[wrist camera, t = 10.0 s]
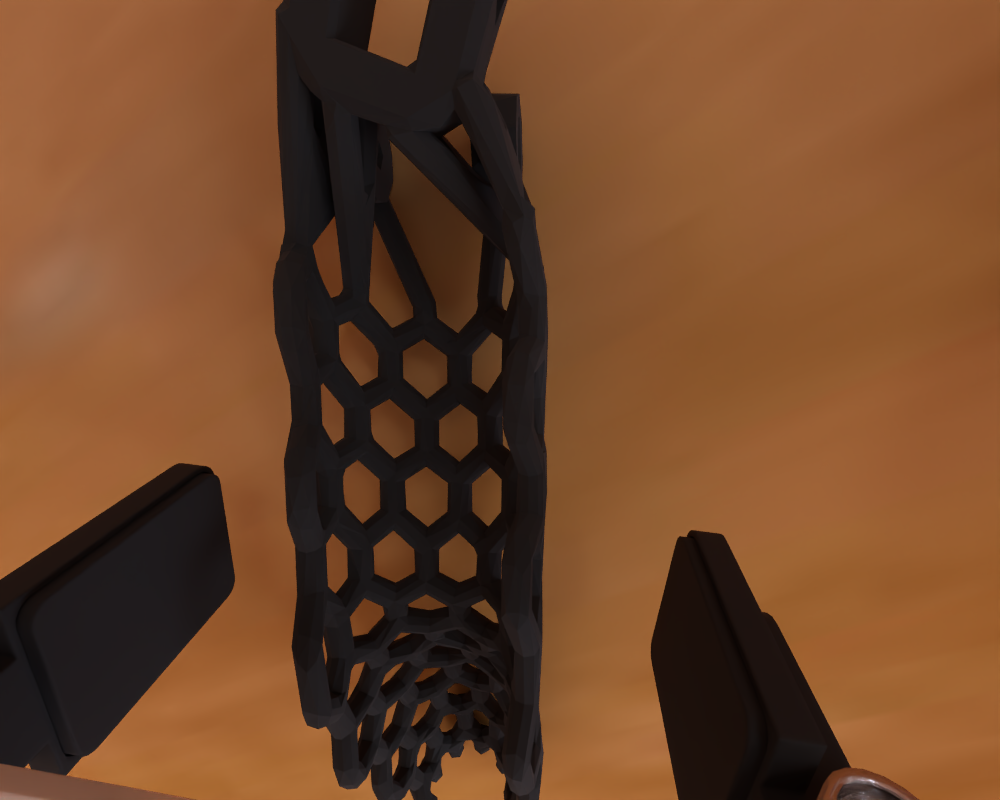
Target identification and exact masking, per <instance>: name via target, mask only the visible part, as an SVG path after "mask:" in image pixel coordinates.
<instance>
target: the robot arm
mask: <svg viewBox="0 0 1000 800" xmlns="http://www.w3.org/2000/svg"><path fill="white" fill-rule="evenodd" d="M234 582H235V574H234V568H233V562H232V555H231V549H230V542H229V536H228V529H227V523H226V516H225V510H224V503H223V497H222V491H221V484H220V480H219V478H218V476H216V475H214V473H213V471H212V470H211V468H209V467H207V466H200V465H192V464H184V463H178V464H176V465H174V466H172V467H171V468H169V469H168V470H166V471H165V472H163V473H162V474H160V475H159V476H157V477H156V478H154V479H153V480H151V481H150V482H148V483H147V484H145V485H143V486H142V487H140V488H139V489H137V490H136V491H134V492H133V493H131V494H130V495H128V496H127V497H125V498H124V499H122V500H121V501H119V502H118V503H116V504H115V505H113V506H112V507H110V508H109V509H107V510H106V511H104V512H103V513H101V514H99V515H98V516H96V517H95V518H93V519H92V520H90V521H89V522H87V523H86V524H84V525H83V526H81V527H80V528H78V529H77V530H75V531H74V532H72V533H71V534H69V535H68V536H66V537H65V538H63V539H62V540H60V541H59V542H57V543H55V544H54V545H52V546H51V547H49V548H48V549H46V550H45V551H43V552H42V553H40V554H39V555H37V556H36V557H34V558H33V559H31V560H30V561H28V562H27V563H25V564H24V565H22V566H21V567H19V568H18V569H16V570H15V571H13V572H11V573H10V574H8V575H7V576H5V577H4V578H2V579H1V580H0V800H195V799H189V798H184V797H179V796H174V795H168V794H163V793H158V792H152V791H147V790H142V789H136V788H131V787H125V786H120V785H114V784H109V783H104V782H98V781H93V780H87V779H82V778H77V777H71V776H66V775H67V774H68V773H69V771H70V770H71V769H72V768H73V767H74V766H75V765H76V763H77V762H78V761H79V760H80V759H81V758H82V757H84V756H87V755H89V754H90V753H92V752H93V751H95V750H96V749H97V748H98V747H99V746H100V744H101V743H102V742H103V741H104V740H105V739H106V737H107V736H108V735H109V734H110V733H111V732H112V730H113V729H114V728H115V727H116V726H117V725H118V724H119V722H120V721H121V720H122V719H123V718H124V717H125V715H126V714H127V713H128V712H129V711H130V710H131V708H132V707H133V706H134V705H135V704H136V703H137V702H138V700H139V699H140V698H141V697H142V696H143V695H144V693H145V692H146V691H147V690H148V689H149V688H150V686H151V685H152V684H153V683H154V682H155V681H156V680H157V678H158V677H159V676H160V675H161V674H162V673H163V671H164V670H165V669H166V668H167V667H168V666H169V665H170V663H171V662H172V661H173V660H174V659H175V658H176V656H177V655H178V654H179V653H180V652H181V651H182V649H183V648H184V647H185V646H186V645H187V644H188V643H189V641H190V640H191V639H192V638H193V637H194V636H195V634H196V633H197V632H198V631H199V630H200V629H201V627H202V626H203V625H204V624H205V623H206V622H207V621H208V619H209V618H210V617H211V616H212V615H213V614H214V612H215V611H216V610H217V609H218V608H219V607H220V605H221V604H222V603H223V602H224V601H225V600H226V599H227V597H228V596H229V595H230V593H231V591H232V589H233V586H234ZM651 660H652V666H653V671H654V676H655V681H656V686H657V692H658V697H659V702H660V707H661V712H662V717H663V722H664V727H665V733H666V738H667V743H668V748H669V753H670V758H671V763H672V768H673V774H674V779H675V784H676V789H677V794H678V799H679V800H919V799H917V798H916V797H915V796H914V795H912V794H911V793H910V792H909V791H907V790H906V789H905V788H903V787H901V786H900V785H898V784H896V783H894V782H893V781H891V780H889V779H887V778H886V777H884V776H881V775H879V774H876V773H873V772H870V771H867V770H865V769H857V768H851V767H850V765H849V763H848V761H847V759H846V757H845V755H844V753H843V751H842V749H841V747H840V745H839V743H838V741H837V739H836V737H835V736H834V734H833V732H832V730H831V728H830V726H829V724H828V722H827V720H826V718H825V716H824V714H823V712H822V710H821V708H820V706H819V704H818V703H817V701H816V699H815V697H814V695H813V693H812V691H811V689H810V687H809V685H808V683H807V681H806V679H805V677H804V675H803V673H802V671H801V670H800V668H799V666H798V664H797V662H796V660H795V658H794V656H793V654H792V652H791V650H790V648H789V646H788V644H787V642H786V640H785V638H784V637H783V635H782V633H781V631H780V629H779V627H778V625H777V623H776V622H775V620H774V619H773V617H772V616H771V615H769V614H768V613H765V612H761V610H760V608H759V606H758V604H757V602H756V600H755V598H754V596H753V594H752V592H751V590H750V588H749V586H748V584H747V582H746V580H745V577H744V575H743V573H742V571H741V569H740V567H739V565H738V563H737V561H736V559H735V557H734V555H733V553H732V551H731V549H730V547H729V545H728V543H727V541H726V539H725V537H724V536H723V535H722V534H717V533H710V532H702V531H694V530H691V531H689V533H688V535H687V537H681V536H680V537H679V538H678V539H677V542H676V545H675V549H674V553H673V557H672V561H671V565H670V569H669V573H668V577H667V581H666V585H665V589H664V593H663V597H662V601H661V605H660V609H659V613H658V617H657V621H656V625H655V629H654V633H653V637H652V642H651ZM28 763H29V765H30V767H31V769H28V768H24V767H25V766H26V765H27V764H28Z"/></svg>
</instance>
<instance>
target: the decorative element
mask: <svg viewBox="0 0 1000 800" xmlns="http://www.w3.org/2000/svg"><path fill="white" fill-rule="evenodd" d="M506 3H507V0H430V1H429V5H428V10H427V14H426V19H425V24H424V28H423V33H422V38H421V42H420V47H419V51H418V56H417V60H416V61H414V62H413V63H412V64H410V65H409V66H408V67H406V66H403V65H401V64H398V63H396V62H393V61H391V60H388V59H386V58H383V57H381V56H378V55H376V54H373V53H371V52H368V45H369V39H370V33H371V27H372V22H373V16H374V10H375V4H376V0H283V2H282V3H281V4H280V6H279V7H278V8H277V9H276V55H277V109H278V134H279V149H280V163H281V177H282V191H283V205H284V219H285V234H284V239H283V245H282V244H281V251H280V257H279V260H278V261H277V263H276V268H275V274H274V279H273V299H274V318H275V334H276V337H277V341H278V344H279V348H280V351H281V355H282V358H283V362H284V365H285V369H286V372H287V376H288V379H289V383H290V394H291V412H292V423H291V428H290V433H289V438H288V443H287V448H286V453H285V458H284V470H285V491H286V512H287V523H288V526H289V529H290V532H291V535H292V538H293V541H294V544H295V553H296V576H297V602H296V611H295V621H294V630H293V639H292V652H293V658H294V664H295V670H296V676H297V682H298V689H299V695H300V701H301V707H302V713H303V716H304V719H305V721H306V724H307V726H310V727H313V728H316V729H320V728H323V727H327V728H328V730H329V732H330V733H331V741H332V758H333V769H334V772H335V775H336V778H337V780H338V783H339V786H340V787H343V788H346V789H356V788H358V787H359V786H360V784H361V783H362V782H363V781H364V780H365V779H366V778H367V776H368V773H369V771H370V769H371V781H372V788H373V791H374V793H375V795H376V797H377V799H378V800H401V799H403V798H404V797H405V795H406V793H407V791H408V790H409V789H410V792H411V794H412V796H413V799H414V800H437V797H436V796H435V795H433V794H432V793H431V791H430V787H431V781H433V782H437V781H438V780H439V779H440V778H441V777H442V775H443V774H442V768H441V758H442V756H443V755H444V754H445V753H446V752H449V754H450V755H451V757H452V758H454V757H460V756H461V754H462V751H463V749H464V746H463V744H464V742H465V741H466V740H472V741H473V742H474V747H475V750H476V751H478V752H479V753H480V754H483V753H485V752H487V751H488V750H489V748H491V749H492V750H494V753H495V756H496V760H497V763H496V766H497V768H498V769H499V771H500V772H501V774H505V777H506V783H505V790H504V800H539V793H540V785H541V774H542V764H543V753H544V752H543V744H542V735H541V722H540V714H539V692H540V674H541V656H542V570H543V549H544V526H545V511H546V497H547V453H546V446H545V441H544V424H545V396H546V377H547V349H548V317H547V285H546V279H545V274H544V266H543V263H542V257H541V252H540V247H539V241H538V236H537V230H536V220H535V208H534V207H533V206H532V205H531V203H530V200H529V198H528V195H527V192H526V190H525V187H524V185H523V181H522V166H523V156H522V121H521V109H520V96H519V94H492V93H491V92H490V90H489V88H488V87H487V86H486V85H485V83H484V80H485V75H486V70H487V67H488V64H489V60H490V57H491V53H492V50H493V47H494V43H495V40H496V37H497V33H498V30H499V27H500V23H501V20H502V17H503V13H504V10H505V6H506ZM461 124H463V126H464V128H465V130H466V132H467V134H468V136H469V138H470V142H471V157H472V167H471V166H470V165H469V164H468V163H467V162H466V161H465V159H464V158H463V157H462V156H461V155H460V154H459V153H458V152H457V150H456V149H455V148H454V147H453V146H452V145H451V144H450V142H449V141H448V140H447V139H446V138H445V137H444V136H443V135H445V134H446V133H448V132H450V131H451V130H453V129H454V128H456V127H458V126H459V125H461ZM389 140H390V141H391V142H392V143H393V144H394V145H395V146H396V147H397V148H398V149H399V150H400V151H401V152H402V153H403V154H404V155H405V156H406V157H407V158H408V159H409V160H410V161H411V162H412V163H413V164H414V165H415V166H416V167H417V168H418V169H419V170H420V171H421V172H422V173H423V174H424V175H425V176H426V177H427V178H428V179H429V180H430V181H431V182H432V183H433V184H434V185H435V186H436V187H437V188H438V189H439V190H440V191H441V192H442V193H443V194H444V195H445V196H446V197H447V198H448V199H449V200H450V201H451V202H452V203H453V204H454V205H455V206H456V207H457V208H458V209H459V210H460V211H461V212H462V213H463V215H464V216H465V217H466V218H467V219H468V220H469V221H470V222H471V223H472V224H473V225H474V226H475V227H476V228H477V229H478V230H479V231H480V232H481V233H482V234H483V242H482V252H481V263H480V273H479V284H478V294H477V299H478V308H477V311H476V314H475V315H474V316H473V317H472V318H471V320H470V321H469V322H468V323H467V324H466V325H465V326H464V328H463V329H462V330H461V331H460V332H459V333H456V332H455V331H454V330H452V329H451V328H450V327H448V326H447V325H446V324H445V323H443V322H442V321H441V320H439V319H438V318H437V311H436V302H435V299H434V297H433V295H432V293H431V291H430V288H429V286H428V284H427V282H426V279H425V277H424V275H423V273H422V271H421V268H420V266H419V264H418V262H417V259H416V257H415V255H414V253H413V251H412V248H411V246H410V244H409V242H408V239H407V237H406V235H405V233H404V231H403V228H402V226H401V224H400V222H399V219H398V217H397V215H396V213H395V211H394V208H393V206H392V204H391V202H390V200H389V195H390V191H391V187H392V184H393V167H392V153H391V148H390V142H389ZM334 216H335V219H336V228H337V236H338V245H339V253H340V262H341V271H342V279H343V290H342V291H341V293H340V295H339V296H336V297H333V298H331V297H330V295H329V293H328V291H327V289H326V287H325V285H324V283H323V281H322V278H321V276H320V273H319V270H318V267H317V263H316V259H315V255H314V251H313V246H312V245H313V244H314V243H315V241H316V240H317V239H318V237H319V236H320V235H321V233H322V232H323V231H324V229H325V228H326V227H327V225H328V224H329V223H330V221H331V220H332V219H333V217H334ZM374 221H375V224H376V226H377V228H378V230H379V233H380V235H381V237H382V239H383V242H384V244H385V246H386V248H387V251H388V253H389V255H390V257H391V260H392V262H393V264H394V266H395V268H396V271H397V273H398V275H399V277H400V280H401V282H402V284H403V286H404V289H405V291H406V293H407V295H408V298H409V300H410V302H411V304H412V307H413V317H414V318H412V319H410V320H408V321H406V322H404V323H402V324H400V325H398V326H396V327H394V328H391V327H390V326H389V324H388V323H387V322H386V321H385V320H384V319H383V317H382V316H381V315H380V314H379V313H378V312H377V310H376V309H375V308H374V307H373V306H372V305H371V303H370V302H369V286H370V270H371V254H372V237H373V227H374ZM505 258H507V259H508V260H509V262H510V266H511V271H512V275H513V279H514V286H513V291H512V295H511V298H510V301H509V305H508V308H507V311H506V310H504V308H503V305H502V289H503V278H504V268H505ZM348 321H351V322H352V323H353V324H354V325H355V326H356V327H357V328H358V329H359V330H360V331H361V332H362V333H363V334H364V335H365V336H366V337H367V338H368V339H369V340H370V341H371V342H372V343H373V345H374V346H375V348H376V350H377V353H378V355H379V357H378V377H377V378H375V379H373V380H372V381H370V382H368V383H366V384H364V385H363V386H360V385H359V383H358V382H357V381H356V380H355V378H354V377H353V376H352V374H351V373H350V372H349V370H348V369H347V368H346V366H345V365H344V364H343V362H342V361H341V358H340V354H339V325H342V324H344V323H346V322H348ZM491 333H494V334H495V335H497V336H498V337H499V338H501V339H502V372H501V373H500V375H499V376H498V378H497V379H496V381H495V383H494V384H493V386H492V387H491V389H490V390H489V392H488V393H486V392H485V391H483V390H482V389H480V388H479V387H477V386H476V385H474V384H473V383H472V354H473V353H474V352H475V351H476V350H477V349H478V348H479V346H480V345H481V344H482V343H483V342H484V341H485V340H486V338H487V337H488V336H489V335H490V334H491ZM423 339H425V340H426V341H427V342H429V343H430V344H432V345H433V346H434V347H436V348H437V349H438V350H440V351H441V352H442V353H444V354H445V355H447V384H446V385H444V386H443V387H442V388H441V389H439V390H438V391H437V392H436V393H434V394H433V395H432V396H431V397H429V398H428V399H426V398H425V397H424V396H423V395H422V394H421V393H419V392H418V391H417V390H416V389H415V388H414V387H412V386H411V385H410V384H409V383H408V382H407V381H406V380H404V379H403V351H404V350H406V349H407V348H409V347H411V346H413V345H414V344H416V343H418V342H420V341H422V340H423ZM322 383H324V385H325V386H326V387H327V388H328V390H329V391H330V392H331V393H332V394H333V396H334V397H335V398H336V399H337V400H338V402H339V403H340V404H341V405H342V407H343V408H344V438H343V439H341V440H340V441H339V442H337V443H336V444H334V445H333V443H332V441H331V439H330V438H329V436H328V434H327V432H326V430H325V429H324V427H323V425H322V407H321V384H322ZM388 399H391V400H392V401H393V402H394V403H395V404H396V405H397V406H399V407H400V408H401V409H402V410H403V411H404V412H405V413H407V414H408V415H409V416H410V417H411V418H412V419H414V428H415V447H413V448H411V449H410V450H408V451H406V452H405V453H403V454H401V455H400V456H398V457H396V458H395V459H394V458H393V457H392V456H391V455H390V454H389V453H387V452H386V451H385V450H384V449H383V448H382V447H381V446H380V445H379V444H378V443H377V442H376V441H375V440H374V438H373V435H372V433H371V413H370V410H371V409H372V408H374V407H376V406H378V405H379V404H381V403H383V402H385V401H386V400H388ZM459 404H462V405H463V406H464V407H465V408H467V409H468V410H469V411H471V412H472V413H473V414H475V415H476V416H477V422H478V445H477V446H476V447H475V448H474V449H473V450H472V451H471V452H469V453H468V454H467V455H466V456H465V457H464V458H463V459H462V460H461V461H460V462H459V461H458V460H457V459H455V458H454V457H453V456H452V455H450V454H449V453H448V452H446V451H445V450H444V449H443V448H441V447H440V446H439V420H440V419H441V418H443V417H444V416H445V415H446V414H448V413H449V412H450V411H452V410H453V409H454V408H456V407H457V406H458V405H459ZM502 416H503V420H502ZM503 430H504V433H505V436H506V440H507V443H508V446H509V449H510V451H509V450H508V449H507V448H506V447H505V446H503ZM356 460H358V461H360V462H361V463H362V464H363V465H364V466H365V467H367V468H368V469H369V470H370V471H371V472H372V473H373V474H374V475H375V476H376V477H377V478H379V479H380V510H379V511H377V512H376V513H375V514H374V515H373V516H371V517H370V518H369V519H368V520H367V521H366V522H364V523H363V524H362V523H361V522H360V521H359V520H358V519H357V518H356V516H355V515H354V514H353V513H352V512H351V511H350V510H349V509H348V508H347V507H346V506H345V500H344V493H343V475H344V472H345V469H346V468H347V467H348V466H350V465H351V464H352V463H354V462H355V461H356ZM425 467H428V468H429V469H430V470H432V471H433V472H434V473H435V474H437V475H438V476H439V477H441V478H442V479H443V480H445V481H446V482H447V483H448V512H446V513H445V514H444V515H443V516H441V517H440V518H439V519H438V520H436V521H435V522H434V523H433V524H431V525H430V526H429V527H427V526H426V525H425V524H424V523H422V522H421V521H420V520H419V519H417V518H416V517H415V516H414V515H412V514H411V513H410V512H409V511H408V510H407V509H406V495H405V480H406V479H408V478H410V477H411V476H413V475H414V474H416V473H417V472H419V471H420V470H422V469H423V468H425ZM489 468H491V469H492V470H493V471H494V472H495V473H496V474H497V475H498V476H499V477H500V478H501V479H502V498H501V513H500V514H499V515H498V516H497V517H496V519H495V520H494V521H493V522H492V523H491V524H490V526H489V527H488V526H487V525H486V524H485V523H484V522H483V521H482V520H481V519H480V518H479V517H478V516H476V515H475V514H474V513H473V512H472V483H473V482H474V481H475V480H476V479H478V478H479V477H480V476H481V475H482V474H483V473H484V472H486V471H487V470H488V469H489ZM393 530H394V531H395V532H396V533H397V534H398V535H400V536H401V537H402V538H403V539H404V540H405V541H406V542H407V543H408V544H409V545H410V546H411V547H412V548H414V553H415V573H413V574H411V575H409V576H407V577H406V578H404V579H402V580H400V581H398V582H396V583H395V582H393V581H390V580H388V579H386V578H383V577H381V576H379V575H376V574H374V551H373V547H374V546H375V545H376V544H377V543H378V542H380V541H381V540H382V539H383V538H384V537H386V536H387V535H388V534H389V533H391V532H392V531H393ZM332 533H333V534H334V535H335V536H336V537H337V538H338V539H339V540H340V541H341V542H342V543H343V544H344V545H345V546H346V547H347V553H348V578H347V580H346V581H345V582H344V584H343V585H342V586H341V588H340V589H339V590H338V591H337V592H336V593H334V592H333V591H332V590H331V589H330V588H329V587H328V579H327V558H326V543H327V542H328V540H329V538H330V537H331V535H332ZM458 533H459V534H460V535H461V536H462V537H464V538H465V539H466V540H467V541H468V542H469V543H470V544H471V545H472V546H473V547H474V549H475V551H476V553H477V570H476V576H474V577H472V578H469V579H467V580H464V581H462V582H457V581H455V580H453V579H451V578H449V577H448V576H446V575H444V574H442V573H440V572H439V549H440V548H441V547H442V546H443V545H445V544H446V543H447V542H448V541H450V540H451V539H452V538H453V537H455V536H456V535H457V534H458ZM503 549H504V553H503V559H502V579H501V558H502V550H503ZM426 594H427V595H429V596H431V597H432V598H434V599H436V600H438V601H440V602H441V603H443V604H445V605H447V607H443V608H439V609H434V610H425V609H418V608H412V607H408V604H409V603H411V602H413V601H415V600H416V599H418V598H420V597H422V596H424V595H426ZM364 598H365V599H367V600H370V601H372V602H374V603H376V604H378V605H381V606H383V608H384V614H385V615H384V616H383V617H382V618H381V619H380V620H379V622H378V623H377V624H376V625H375V626H374V627H373V628H372V629H371V630H370V631H369V633H368V634H364V635H359V636H354V637H353V634H352V628H351V622H350V616H351V615H352V613H353V612H354V611H355V609H356V608H357V607H358V605H359V604H360V603H361V601H362V600H363V599H364ZM482 600H486V601H487V602H488V603H489V604H490V606H491V607H492V608H493V609H494V610H495V612H496V614H497V618H498V622H499V624H498V623H494V622H492V621H491V620H489V619H488V618H486V617H485V616H484V615H482V614H481V613H479V612H478V611H476V610H475V609H473V608H472V607H471V606H472V605H474V604H476V603H478V602H480V601H482ZM400 633H411V634H409V635H407V636H405V637H403V638H401V639H398V640H395V639H396V637H397V636H398V635H399V634H400ZM323 635H324V641H325V646H326V652H327V662H326V665H325V659H324V652H323V646H322V644H323ZM394 640H395V641H394ZM362 662H365V664H364V667H363V670H362V673H361V676H360V678H359V681H358V683H357V685H356V687H355V689H354V690H353V692H352V694H351V696H350V698H349V699H348V700H347V697H348V690H349V683H350V675H351V670H352V668H353V666H354V665H355V664H358V663H362ZM403 662H404V663H403ZM400 663H403V665H402V666H401V668H400V669H399V670H398V671H397V672H396V673H395V675H394V676H393V677H392V678H391V679H390V680H389V681H387V682H386V683H385V684H383V685H382V682H383V679H384V676H385V674H386V673H387V672H389V671H390V670H391V669H392V668H393V667H394V666H395V665H397V664H400ZM468 663H469V664H473V665H475V666H476V667H477V668H479V669H477V668H474V667H473V666H471V665H469V664H468ZM426 668H441V669H440V670H439V671H438V672H436V673H435V674H434V675H432V676H430V677H428V678H427V679H425V680H423V681H419V682H415V681H416V680H417V678H418V677H419V676H420V674H421V673H422V671H423V670H424V669H426ZM454 683H460V684H462V685H464V686H466V687H469V688H470V691H469V692H467V693H464V694H458V695H457V694H453V693H448V691H447V690H448V689H449V688H450V687H451V686H452V685H453V684H454ZM381 685H382V686H381ZM491 693H493V694H494V696H495V697H496V699H497V701H498V702H497V701H496V699H495V698H494V697H493V695H492V694H491ZM429 699H430V701H431V703H430V705H429V707H428V709H427V712H426V714H425V715H424V716H423V717H422V718H421V719H420V720H419V722H418V723H417V724H416V725H414V726H411V724H412V721H413V718H414V715H415V712H416V709H417V706H418V704H421V703H423V702H425V701H427V700H429ZM396 701H398V702H397V705H396V709H395V712H394V716H393V719H392V722H391V724H390V725H389V726H388V727H387V729H386V730H385V731H384V733H383V728H384V722H385V717H386V712H387V709H388V708H390V707H391V706H392V705H393V704H394V703H395V702H396ZM474 710H478V711H480V712H482V713H483V714H484V715H485V716H486V717H487V718H488V719H489V726H487V725H483V724H480V723H479V722H478V721H477V720H476V718H475V717H474V713H473V711H474ZM449 714H455V715H456V717H457V721H456V723H455V725H454V726H453V728H452V729H450V730H449V731H447V732H442V731H441V729H440V727H439V726H440V724H441V722H442V719H443V717H444V716H446V715H449ZM361 722H362V727H361V733H360V738H359V741H358V739H357V728H358V727H359V725H360V723H361ZM382 733H383V734H382ZM424 742H425V743H426V744H427V745H426V753H425V757H424V759H423V760H422V762H421V764H420V766H418V767H417V755H418V752H419V749H420V746H421V744H423V743H424ZM398 747H399V760H398V765H397V768H396V771H395V773H394V775H393V776H392V760H391V758H392V756H393V754H394V753H395V751H396V750H397V749H398Z"/></svg>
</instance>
